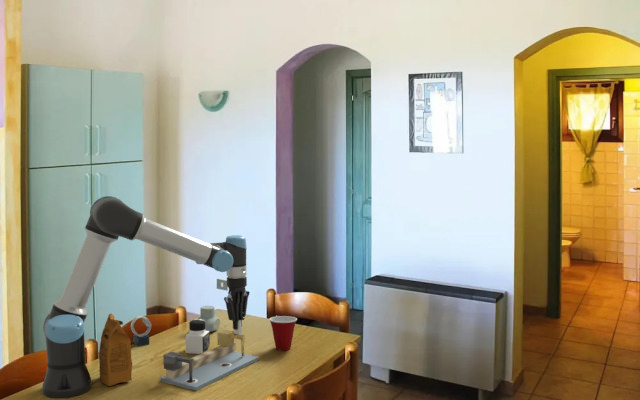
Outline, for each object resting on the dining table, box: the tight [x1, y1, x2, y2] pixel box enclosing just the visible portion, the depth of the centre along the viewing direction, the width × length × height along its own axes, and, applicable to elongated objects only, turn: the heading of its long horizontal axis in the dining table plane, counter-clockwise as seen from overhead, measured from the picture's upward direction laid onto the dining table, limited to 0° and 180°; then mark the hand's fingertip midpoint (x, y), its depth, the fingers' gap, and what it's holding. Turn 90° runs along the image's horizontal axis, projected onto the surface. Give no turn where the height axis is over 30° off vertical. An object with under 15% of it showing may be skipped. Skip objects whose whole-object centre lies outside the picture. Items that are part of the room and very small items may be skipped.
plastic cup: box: [269, 315, 298, 351], centre depth 261 cm, size 11×11×12 cm
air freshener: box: [197, 305, 221, 333], centre depth 284 cm, size 11×8×10 cm
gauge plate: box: [160, 351, 260, 392], centre depth 238 cm, size 34×16×1 cm, turn 148°
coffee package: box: [98, 313, 133, 387], centre depth 228 cm, size 10×12×22 cm
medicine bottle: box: [185, 318, 211, 355], centre depth 258 cm, size 7×7×12 cm
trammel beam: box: [163, 342, 237, 382], centre depth 239 cm, size 34×11×8 cm, turn 148°
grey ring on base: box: [130, 315, 152, 347], centre depth 267 cm, size 6×8×11 cm
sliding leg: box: [216, 329, 246, 356], centre depth 250 cm, size 4×11×8 cm, turn 58°
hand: (237, 336), depth 258 cm, fingers closed
